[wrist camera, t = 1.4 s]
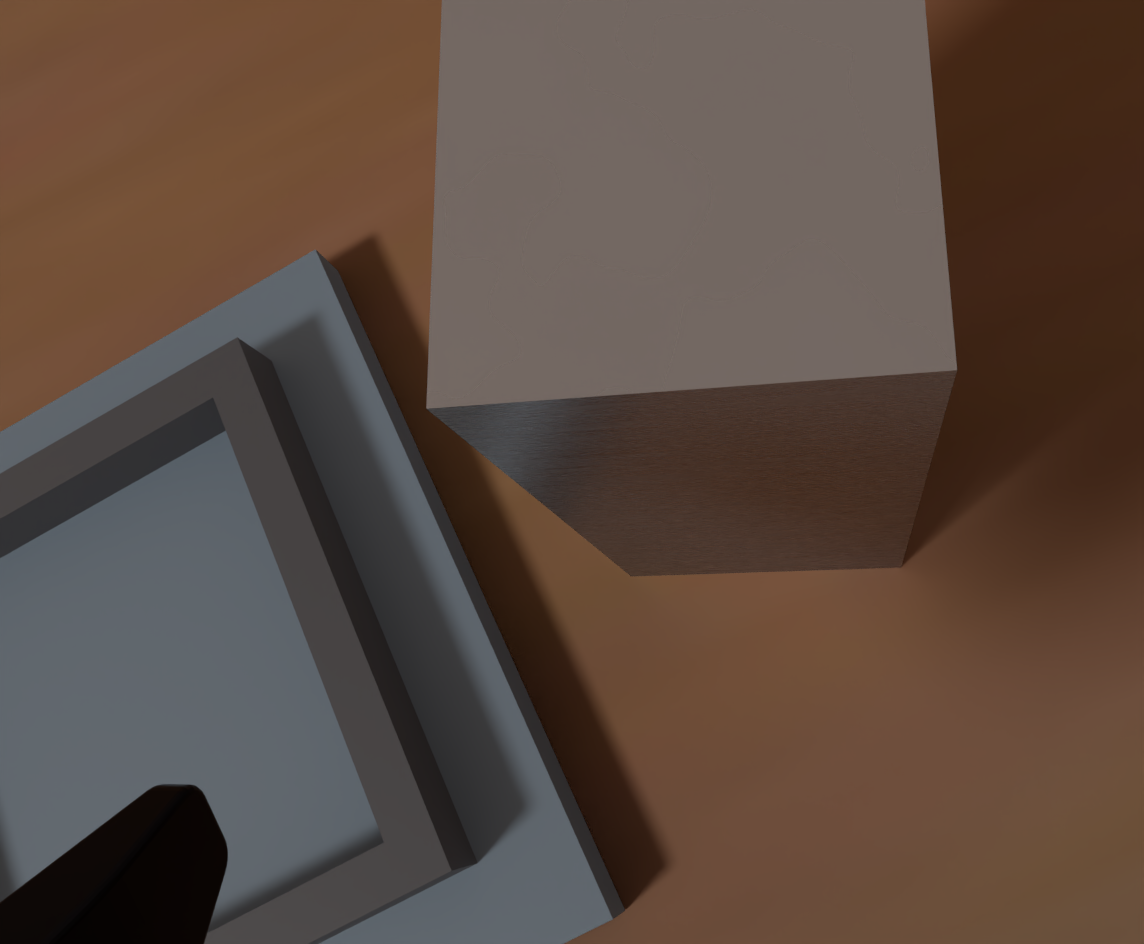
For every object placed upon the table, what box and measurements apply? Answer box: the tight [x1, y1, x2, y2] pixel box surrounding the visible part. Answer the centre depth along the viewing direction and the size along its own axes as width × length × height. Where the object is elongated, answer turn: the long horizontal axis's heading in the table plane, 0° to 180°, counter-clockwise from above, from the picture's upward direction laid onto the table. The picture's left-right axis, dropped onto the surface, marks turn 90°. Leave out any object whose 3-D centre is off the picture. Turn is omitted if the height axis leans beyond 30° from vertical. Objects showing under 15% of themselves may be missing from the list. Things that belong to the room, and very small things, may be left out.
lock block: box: [426, 0, 957, 576], centre depth 18 cm, size 6×6×12 cm
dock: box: [0, 250, 625, 944], centre depth 24 cm, size 16×16×3 cm
